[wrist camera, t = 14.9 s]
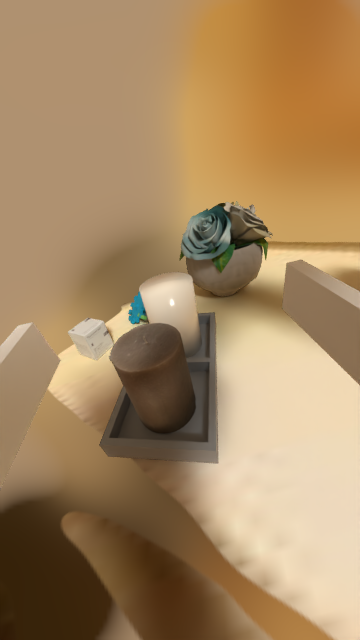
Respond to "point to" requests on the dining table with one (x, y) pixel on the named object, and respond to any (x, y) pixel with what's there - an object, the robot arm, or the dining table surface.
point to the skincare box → (91, 338)
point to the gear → (137, 310)
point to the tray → (191, 440)
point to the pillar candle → (156, 376)
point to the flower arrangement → (224, 247)
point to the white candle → (174, 306)
